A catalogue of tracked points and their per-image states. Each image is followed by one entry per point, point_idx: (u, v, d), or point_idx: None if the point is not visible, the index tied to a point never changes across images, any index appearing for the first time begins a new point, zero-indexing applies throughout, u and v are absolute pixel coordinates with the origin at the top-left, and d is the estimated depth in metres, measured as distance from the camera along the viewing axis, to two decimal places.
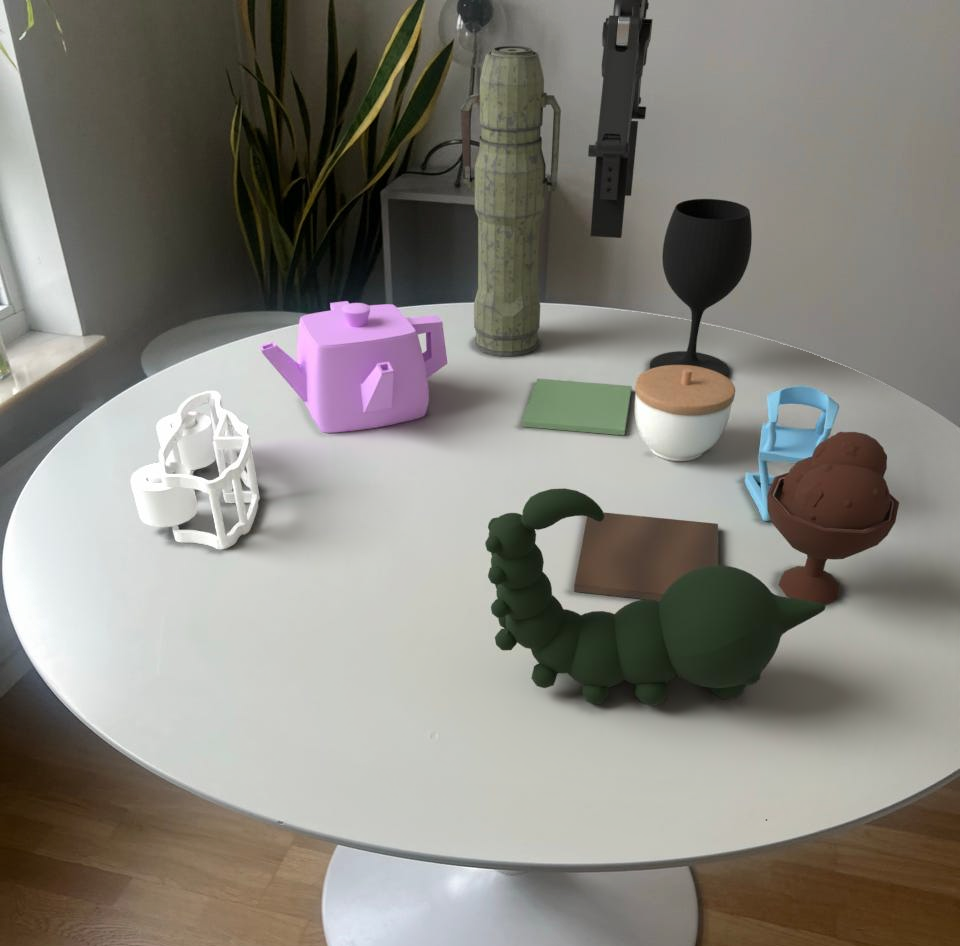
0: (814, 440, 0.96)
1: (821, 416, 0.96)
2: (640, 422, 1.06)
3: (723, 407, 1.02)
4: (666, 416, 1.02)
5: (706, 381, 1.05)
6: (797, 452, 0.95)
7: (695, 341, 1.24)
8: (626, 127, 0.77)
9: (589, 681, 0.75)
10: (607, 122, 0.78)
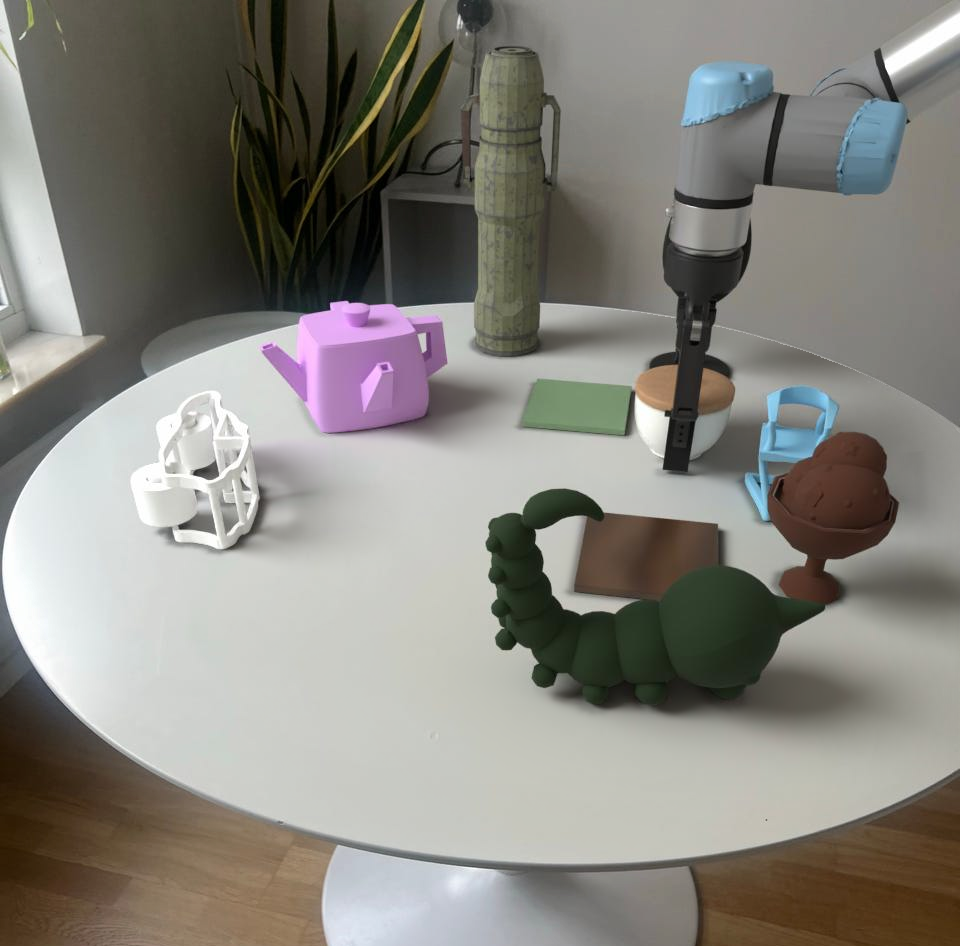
0: (814, 440, 0.96)
1: (821, 416, 0.96)
2: (640, 422, 1.06)
3: (723, 407, 1.02)
4: None
5: (706, 381, 1.05)
6: (797, 452, 0.95)
7: None
8: (697, 403, 0.97)
9: (589, 681, 0.75)
10: (681, 398, 0.97)
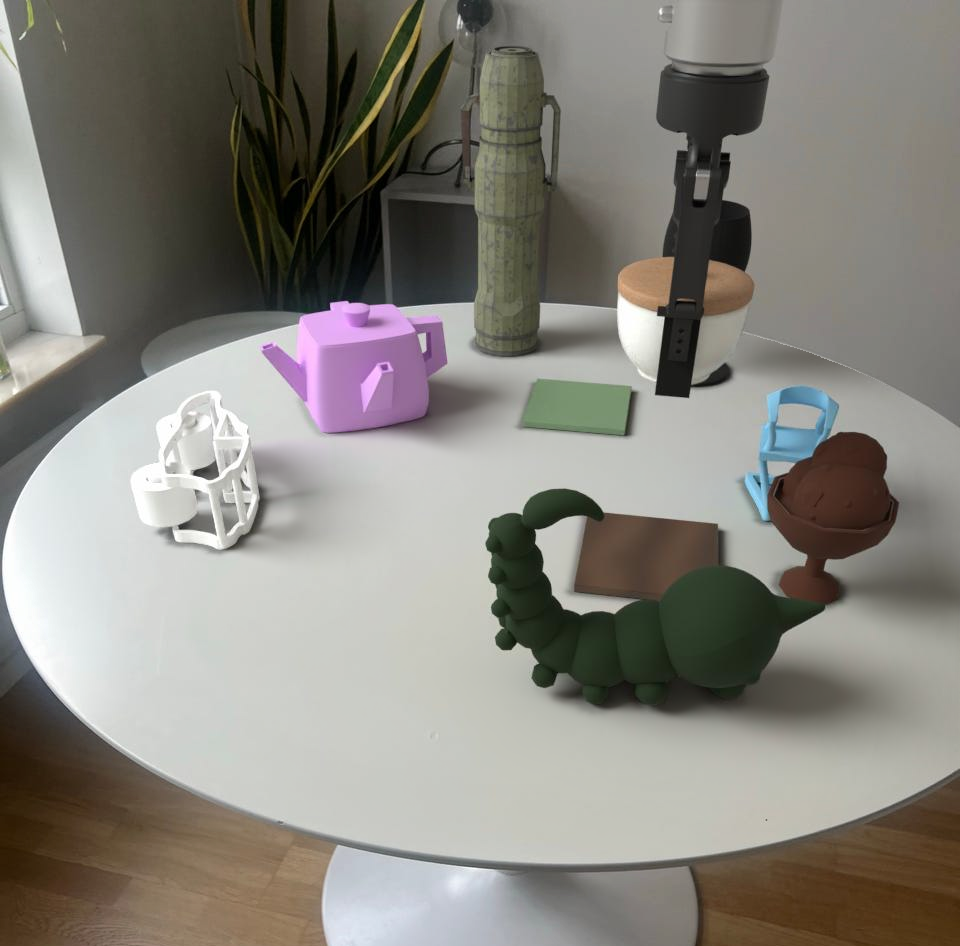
0: (813, 440, 0.96)
1: (821, 416, 0.96)
2: (624, 330, 0.77)
3: (738, 306, 0.74)
4: (659, 318, 0.74)
5: (715, 274, 0.77)
6: (797, 452, 0.95)
7: None
8: (702, 292, 0.69)
9: (589, 681, 0.75)
10: (681, 286, 0.69)
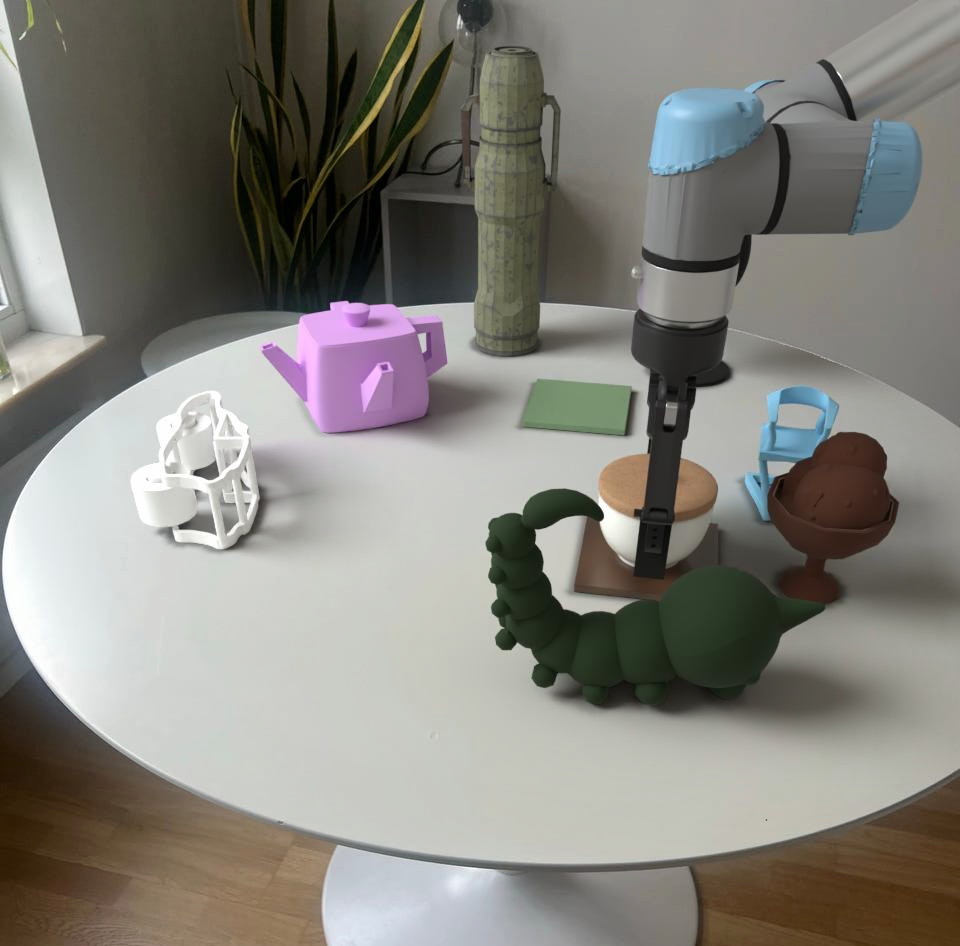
0: (814, 440, 0.96)
1: (821, 416, 0.96)
2: (604, 526, 0.88)
3: (703, 512, 0.84)
4: (634, 523, 0.85)
5: (684, 478, 0.87)
6: (797, 452, 0.95)
7: None
8: (673, 502, 0.78)
9: (589, 681, 0.75)
10: (654, 497, 0.78)
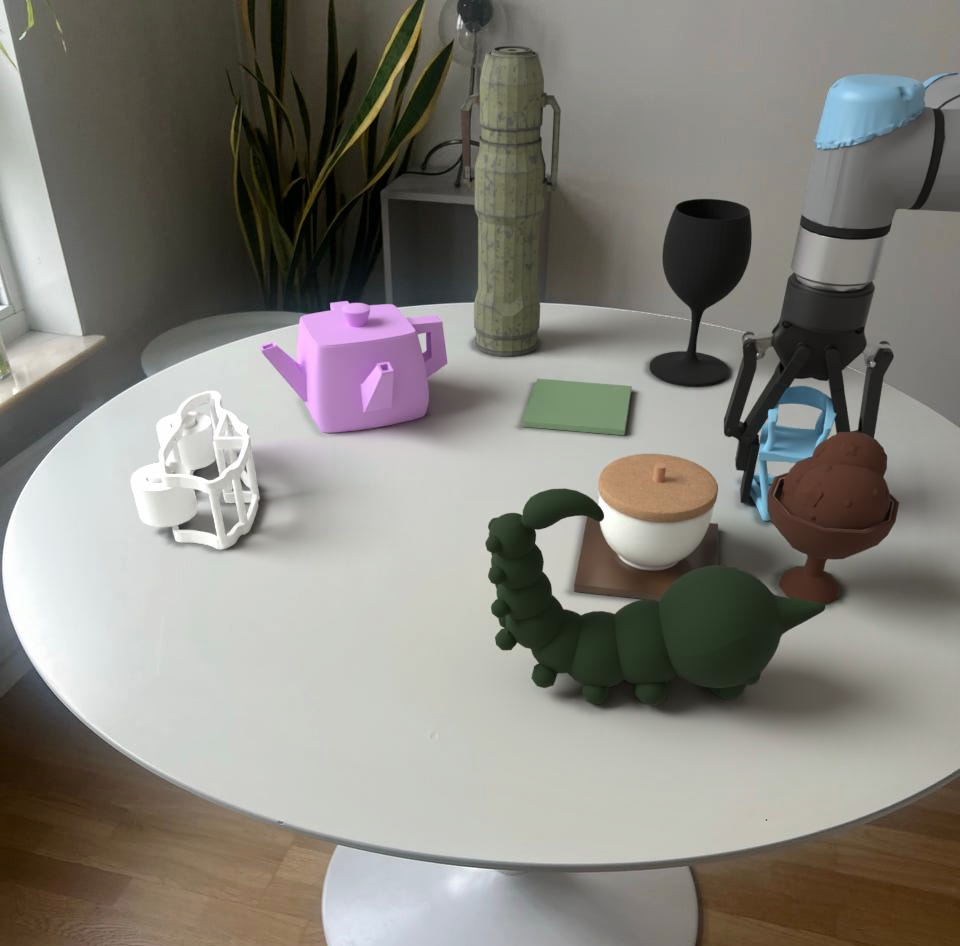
0: (813, 440, 0.96)
1: (821, 416, 0.96)
2: (604, 526, 0.88)
3: (703, 512, 0.84)
4: (634, 522, 0.85)
5: (684, 477, 0.87)
6: (797, 452, 0.95)
7: (695, 341, 1.24)
8: (727, 418, 0.95)
9: (589, 681, 0.75)
10: (728, 408, 0.96)
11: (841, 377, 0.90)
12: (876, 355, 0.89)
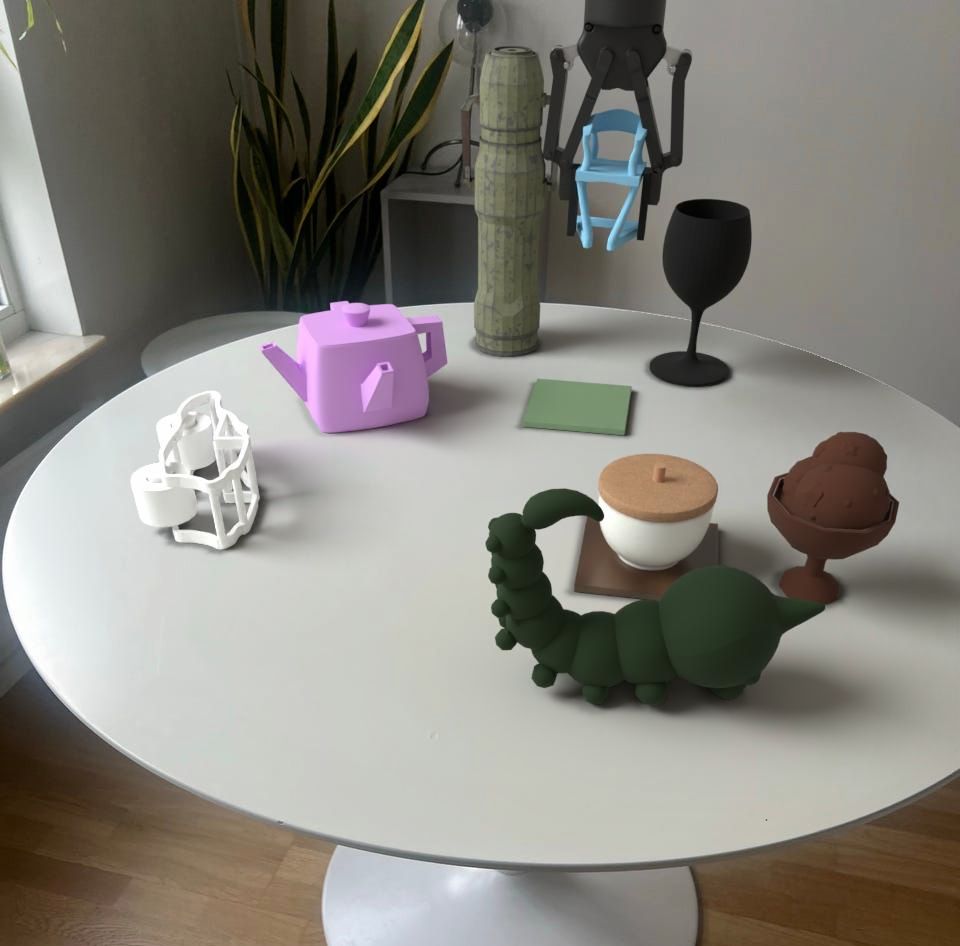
0: None
1: None
2: (604, 526, 0.88)
3: (703, 512, 0.84)
4: (634, 522, 0.85)
5: (684, 477, 0.87)
6: (613, 173, 0.97)
7: (695, 341, 1.24)
8: None
9: (589, 681, 0.75)
10: None
11: (644, 84, 0.92)
12: (677, 61, 0.92)
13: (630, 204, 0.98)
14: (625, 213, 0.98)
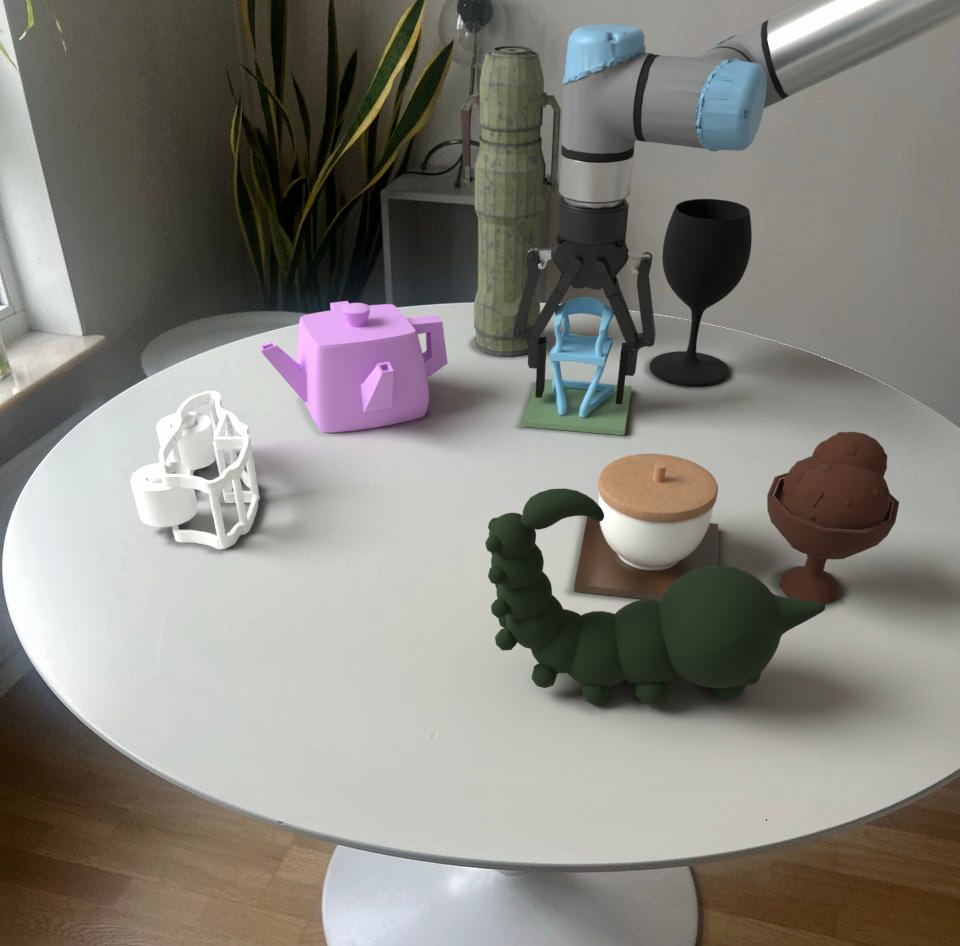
0: None
1: None
2: (604, 526, 0.88)
3: (703, 512, 0.84)
4: (634, 522, 0.85)
5: (684, 477, 0.87)
6: (582, 353, 1.11)
7: (695, 341, 1.24)
8: None
9: (589, 681, 0.75)
10: None
11: (611, 284, 1.06)
12: (639, 264, 1.05)
13: (598, 379, 1.12)
14: (594, 387, 1.12)
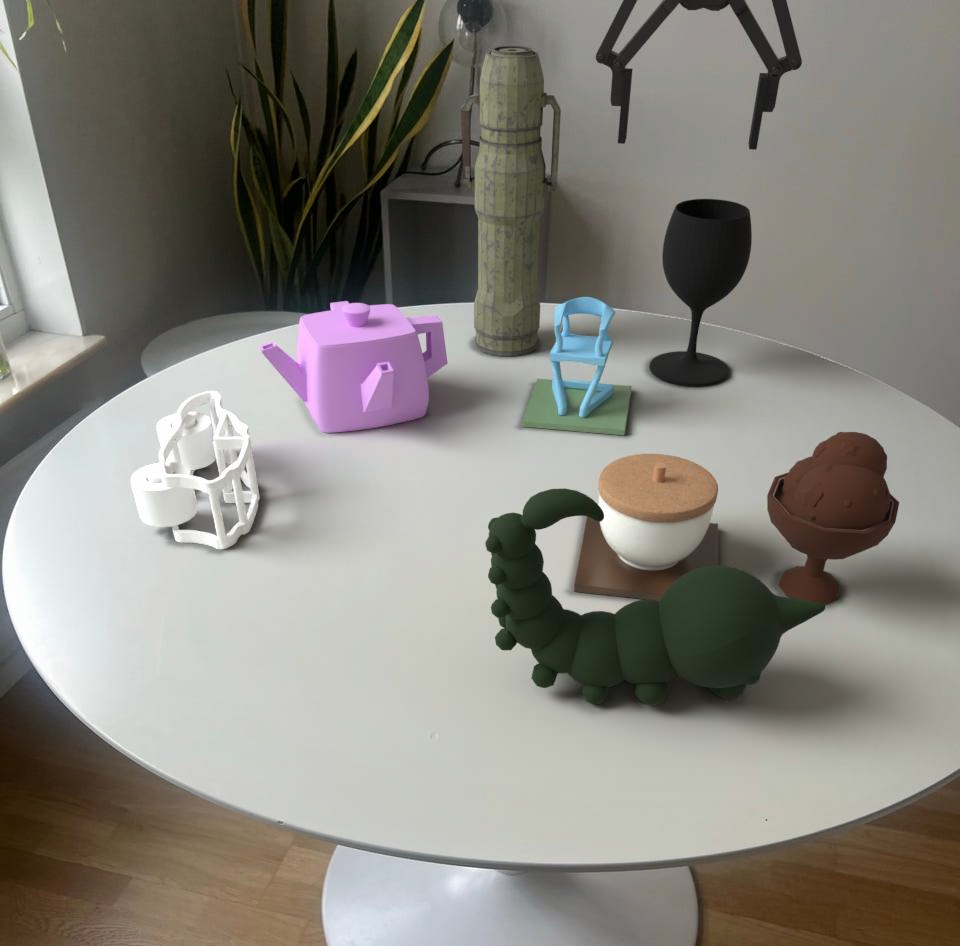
0: None
1: None
2: (604, 526, 0.88)
3: (703, 512, 0.84)
4: (634, 522, 0.85)
5: (684, 477, 0.87)
6: (582, 353, 1.11)
7: (695, 341, 1.24)
8: None
9: (589, 681, 0.75)
10: None
11: None
12: None
13: (598, 379, 1.12)
14: (594, 387, 1.12)
